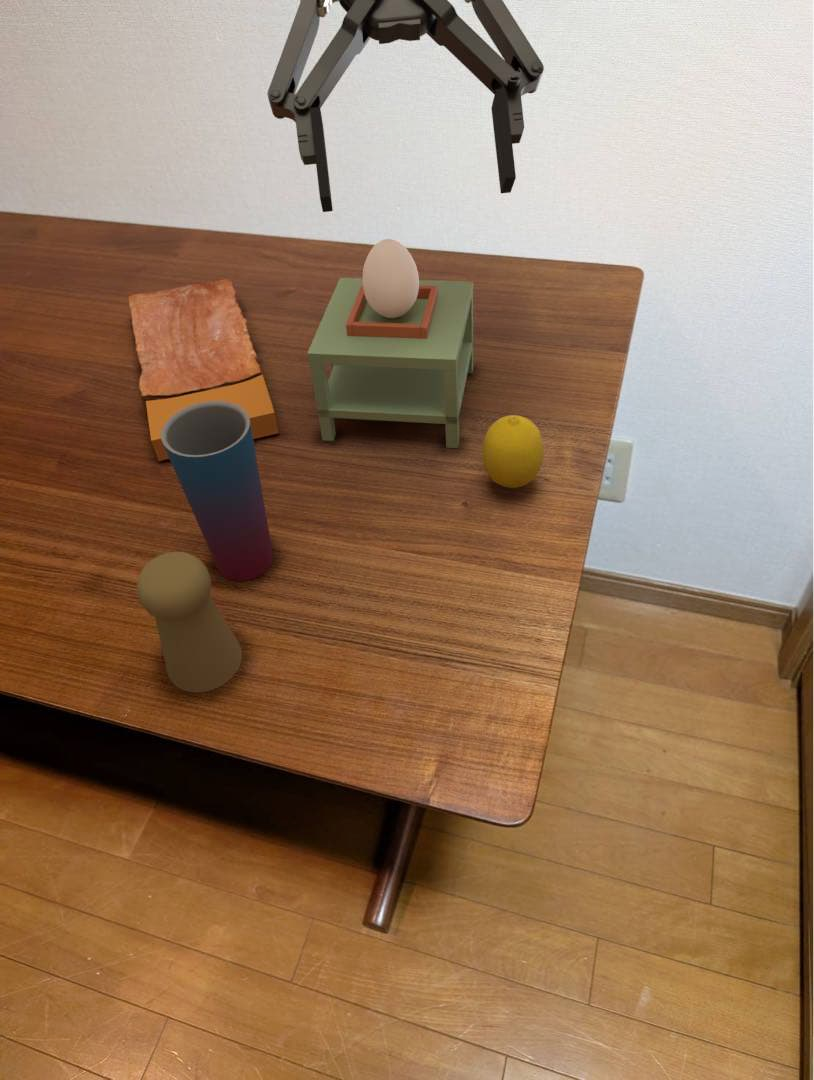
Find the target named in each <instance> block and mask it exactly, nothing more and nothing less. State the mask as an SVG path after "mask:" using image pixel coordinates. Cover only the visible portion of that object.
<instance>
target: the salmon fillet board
mask: <svg viewBox="0 0 814 1080" xmlns="http://www.w3.org/2000/svg"><path fill="white" fill-rule="evenodd" d="M127 299H128V308H129V311H130V316H131V325H132V333H133V337H134V343H135V352H136V355H137V359H138V363H139V366H140V370H141V373H140V376H139V378H138V379H139V380H138V389H139V391H140V394H141V395H140V397H141V399H142V401H143V402H144V404H145V405H146V406H145V407H146V414H147V420H148V428H149V434H150V442H151V445H152V447H153V450H154V452H155V456H156V459H157V461H158V462H162V461H165V460H166V461H167V460H170V459H169V457H168V454H167V452H166V450H165V447H164V445H163V443H162V441H161V432H162V428H163V426H164V425H165V423H166V422H167V421H168V419H169V418H170V417H172V416H173V415H174V414H175V413H177V412H178V411H180V410H182V409H184V408H186V407H188V406H191V405H194V404H197V403H201V402H206V401H225V402H230V403H233V404H236V405H238V406H240V407H241V408H243V409H244V410H245V411H246V412H247V414H248V416H249V418H250V423H251V429H252V435H253V440H255V439H260V438H263V437H268V436H273V435H276V434H280V431H279V426H278V422H277V417H276V414H275V409H274V406H273V402H272V400H271V397H270V394H269V390H268V387H267V384H266V381H265V378H264V374H263V373H262V370H261V365H260V364H259V362H258V357H257V356H258V355H257V352H256V351H255V347H254V344H253V342H252V337H251V334H250V330H249V328H248V324H247V322H248V320H247V319H246V318H245V317H244V314H243V311H242V308H241V306H240V304H239V299H238V293H237V290H236V287H235V284H234V283H233V281H231V279H229V278H223V279H219V280H213V281H210V282H203V283H196V284H195V283H194V284H189V285H184V286H179V287H175V288H168V289H161V290H157V291H156V290H155V291H150V292H139V293H135V294H129V295H128V298H127Z"/></svg>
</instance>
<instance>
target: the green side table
mask: <svg viewBox="0 0 814 1080" xmlns="http://www.w3.org/2000/svg"><path fill="white" fill-rule="evenodd" d="M362 278H363V277H361V278H360V277H339V279H338V281H337V284H336V286H335V287H334V290H333V293H332V295H331V297H330V300H329V302H328V305H327V306H326V309H325V311H324V313H323V316H322V318H321V321H320V323H319V324H318V327H317V329H316V333H315V335H314V337H313V339H312V341H311V344H310V346H309V348H308V350H307V353H306V355H307V360H308V364H309V371H310V376H311V383H312V390H313V394H314V400H315V405H316V412H317V417H318V423H319V428H320V435H321V440H322V441H327V442H334V441H335V439H336V434H337V431H336V424H335V419H346V420H348V419H349V420H364V421H365V420H366V421H381V422H382V421H384V422H385V421H386V422H402V423H417V424H418V423H421V424H436V425H437V424H439V425H445V448H446V449H458V448H459V446H460V414H461V408H462V404H463V399H464V394H465V388H466V384H467V383H466V382H467V377H468V374H471V375H472V374H473V373H474V372H473V371H474V281H470V280H467V281H466V280H437V279H436V280H435V279H434V280H432V279H419V290H418V295H417V298H416V301H415V302H414V304H413V306H412V307H411V308H410V310H409V311H408V312H407V313H405V314H404V315H402V316H401V317H397V318H386V317H383V316H381V315H380V314H378V313H377V312H376V311H375V310H374V309H373V308H372V307H371V306H370V305H369V303H368V301H367V299H366V297H365V294H364V289H363V281H362ZM326 366H333V368H332V369H331V372H330V375H329V378H328V374H327V369H326Z"/></svg>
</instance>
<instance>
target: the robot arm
mask: <svg viewBox="0 0 814 1080" xmlns="http://www.w3.org/2000/svg"><path fill="white" fill-rule="evenodd" d="M337 2H339V3H338V4H340V7H341V8H342V9H343V10H344V11H345V13H346V14H345V15H344V17H343V20H342V23H341V26H340V27H339V29H338V31H337V32H336V33H335V35H334V36H333V38H332V39H331V41H330V42H329V44H327V45H328V46H327V47H326V48H325V50H324V52H323V53H322V55H321V56H320V57H319V59H318V61H317V62H316V63H315V65H314V66H313V68H312V69H311V71H310V72H309V74H308V75H307V76H306V78H305V79H304V81H303V83H302V84H301V86H300V87H299V84H300V81H301V78H302V76H303V73H304V70H305V67H306V65H307V62H308V59H309V57H310V53H311V50H312V48H313V45H314V43H315V39H316V37H317V35H318V31H319V28H320V27H319V26H320V20H321V18H325V17H326V16H327V14H328V13H330V9H331V6H332V5H333V4H334V3H337ZM464 3H466V4H471V6H472V9H473V12H474V14H475V15H476V18H477V19H478V21H479V22H480V24H481V25H482V27H483V28H484V30H485V32H486V34H487V35H488V36H489V38H490V39H491V41H492V43H493V44H494V46H495V47H496V49H497V51H498V52H499V53H498V52H497V51H496V50H494V48H492V47H491V46H490V45H489V44H488V43H487V42H486V41H485V40H484V39H483V38H482V37H481V36H480V35H479V34H478V33H477V32H476V31H475V30H474V29H472V27H471V26H470V25H468V23H467V22H466V21H465V20H463V18H461V17H460V16H459V14H458V13H457V11H456V9H455V7H454V5H453V4H452V3H451V2H450V1H449V0H300V2H299V4H298V8H297V11H296V13H295V16H294V19H293V21H292V24H291V26H290V30H289V32H288V36H287V38H286V40H285V43H284V46H283V49H282V51H281V54H280V57H279V60H278V63H277V64H276V68H275V71H274V74H273V77H272V78H271V82H270V85H269V87H268V90H267V99H268V102H269V106H270V110H271V113H272V115H273V116H274V118H276V119H279V120H282V119H284V118H286V119H290V120H292V121H293V122H294V123H295V128H296V135H297V144H298V152H299V155H300V159H301V161H302V163H303V165H304V166H309V165H316V166H315V167H316V176H317V184H318V185H317V186H318V193H319V194H318V195H319V200H320V205H321V209H322V213H328V212H333V211H334V208H333V200H332V193H331V191H332V190H331V184H330V175H329V164H328V156H327V147H326V139H325V131H324V130H325V128H324V123H323V116H322V109H321V108H322V107H323V105H324V104H325V102H326V101H327V99H328V98H329V96H330V95H331V93H332V92H333V90H335V89H334V88H336V86H337V84H338V83H339V81H340V80H341V78H342V77H343V76H344V74H345V72H346V71H347V69H348V68H349V66H351V64H352V62H353V60H354V59H355V58H356V57H357V55H360V54H361V53H362V52H363V50H364V48H365V47H366V45H367V44H368V43H369V42H370V40H371V39H372V40H374V41H378V44H379V45H383V44H384V45H385V44H390V43H393V42H396V41H399V40H402V41H408V42H414V41H421V37H422V36H425V35H427V36H429V37H430V38H431V40H433V41H434V43H436V44H437V45H438V46H440V47H444V48H445V49H446V50H447V51H448V52H449V53H451V55H452V56H454V58H456V59H457V60H458V61H459V62H460V63H461V64H462V65H463V66H464V67H465V68H466V69H467V70H468V71H469V73H471V74H472V75H473V76H474V77H476V78H477V80H478V81H480V83H482V84H483V85H484V86H485V88H487V89H488V91H490V92H491V93H492V94H493V100H492V103H491V108H490V110H491V118H492V126H493V135H494V136H493V137H494V143H495V153H496V154H495V155H496V162H497V163H496V164H497V173H498V181H499V191H500V194H511V192H512V189H513V187H514V185H515V184H514V183H515V182H516V178H517V175H516V166H515V165H516V164H515V158H514V157H515V156H514V147H513V145H514V144H520V143H521V140H522V137H523V133H524V129H525V120H524V112H523V111H524V110H523V104H522V103H523V102H522V96H524V95H526V94H533V93H536V91H537V90H538V88H539V85H540V83H541V79H542V77H543V73H544V70H545V69H544V68H545V67H544V66H545V65H544V64H543V62H542V61H541V58H540V57H539V56H538V54H537V52H536V51H535V49H534V48H533V46H532V45H531V43H530V41H529V40H528V38H527V37H526V35H525V34H524V32H523V31H522V29H521V27H520V26H519V24H518V22H517V21H516V19H515V18H514V16H513V15H512V13H511V12H510V9H508V7H507V5H506V4H505V1H504V0H464ZM298 87H299V89H298ZM296 91H297V92H296Z"/></svg>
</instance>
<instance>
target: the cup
mask: <svg viewBox="0 0 814 1080" xmlns="http://www.w3.org/2000/svg"><path fill="white" fill-rule="evenodd" d="M161 441H162V443H163V445H164V447H165V450H166V452H167V454H168V457H169V459H168V460H169V461H170V464H171V465H172V468H173V470H174V472H175V475H176V478H177V479H178V482H179V485H180V486H181V489H182V491H183V493H184V495H185V497H186V499H187V503H188V504H189V506H190V508H191V509H190V510H191V511H192V513H193V515H194V518H195V520H196V522H197V525H198V527H199V529H200V531H201V532H200V533H202V536H203V538H204V540H205V544H206V545H207V548H208V549H209V550H208V551H209V552H210V554H211V556H212V559H213V561H214V564H215V566H216V568H217V570H218V573H220V575H221V576H223V577H224V578H225V579H228V580H230V581H236V582H245V581H250V580H253V579H256V578H258V577H259V576H261V575H263V574H264V573H265V572H267V571H268V569H269V568H270V567H271V565H272V564H273V560H274V552H273V547H272V540H271V535H270V529H269V523H268V517H267V511H266V506H265V500H264V499H265V498H264V494H263V488H262V483H261V482H262V481H261V477H260V471H259V465H258V459H257V452H256V448H255V441H254V439H253V435H252V429H251V423H250V418H249V416H248V414H247V412H246V411H245V410H244V409H243V408H241V407H240V406H238V405H236V404H233V403H230V402H225V401H206V402H201V403H197V404H194V405H191V406H188V407H186V408H184V409H182V410H180V411H178V412H177V413H175V414H174V415H173V416H172V417H170V418H169V419H168V421H167V422H166V423H165V425H164V426H163V428H162V432H161Z"/></svg>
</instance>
